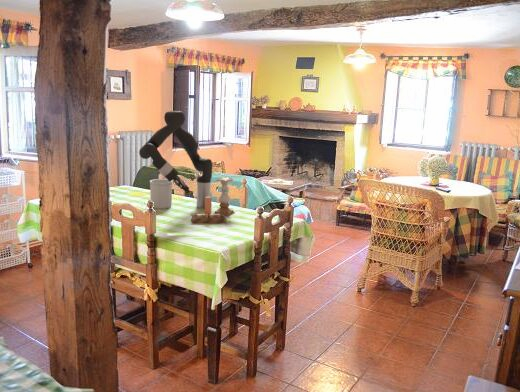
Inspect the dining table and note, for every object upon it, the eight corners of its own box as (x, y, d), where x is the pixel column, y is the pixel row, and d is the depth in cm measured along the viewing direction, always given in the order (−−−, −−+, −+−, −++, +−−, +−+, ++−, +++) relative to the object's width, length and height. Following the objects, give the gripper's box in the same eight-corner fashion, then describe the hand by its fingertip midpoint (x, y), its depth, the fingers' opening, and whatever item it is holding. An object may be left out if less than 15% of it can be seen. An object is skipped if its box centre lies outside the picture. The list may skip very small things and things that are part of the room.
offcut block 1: (197, 222, 273) (197, 215, 272) (197, 221, 275) (197, 213, 274) (207, 222, 274) (207, 215, 273) (207, 221, 277) (207, 213, 276)
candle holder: (235, 214, 300) (236, 178, 295) (228, 218, 290) (229, 180, 285) (219, 212, 304) (220, 176, 299) (212, 216, 294) (213, 179, 289)
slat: (205, 220, 278) (205, 197, 275) (204, 219, 280) (205, 196, 277) (210, 220, 279) (211, 197, 276) (210, 219, 280) (211, 196, 278)
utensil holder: (175, 208, 313) (175, 182, 309) (152, 209, 306) (152, 183, 302) (169, 203, 325) (169, 178, 322) (147, 204, 319) (147, 179, 315)
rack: (191, 226, 270) (191, 218, 269) (190, 221, 280) (190, 214, 280) (226, 225, 274) (226, 218, 273) (223, 220, 284) (224, 213, 283)
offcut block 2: (209, 222, 274) (209, 215, 273) (209, 221, 277) (209, 213, 276) (219, 222, 275) (219, 214, 274) (219, 221, 278) (219, 213, 277)
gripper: (173, 168, 262) (193, 188, 267) (173, 165, 276) (192, 184, 280) (163, 178, 262) (184, 198, 267) (163, 174, 276) (183, 193, 280)
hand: (188, 191), depth 273 cm, fingers open, 8 cm apart
